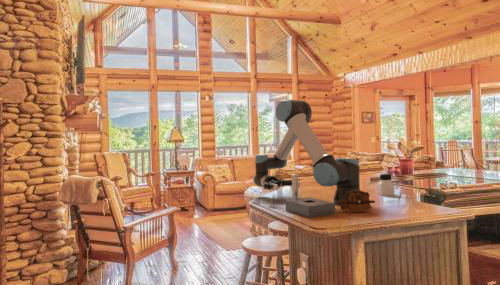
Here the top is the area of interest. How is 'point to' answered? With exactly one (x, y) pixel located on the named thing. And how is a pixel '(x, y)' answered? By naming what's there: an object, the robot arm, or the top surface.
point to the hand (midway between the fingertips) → (288, 186)
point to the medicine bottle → (385, 185)
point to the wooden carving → (356, 201)
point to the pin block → (310, 207)
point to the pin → (295, 186)
